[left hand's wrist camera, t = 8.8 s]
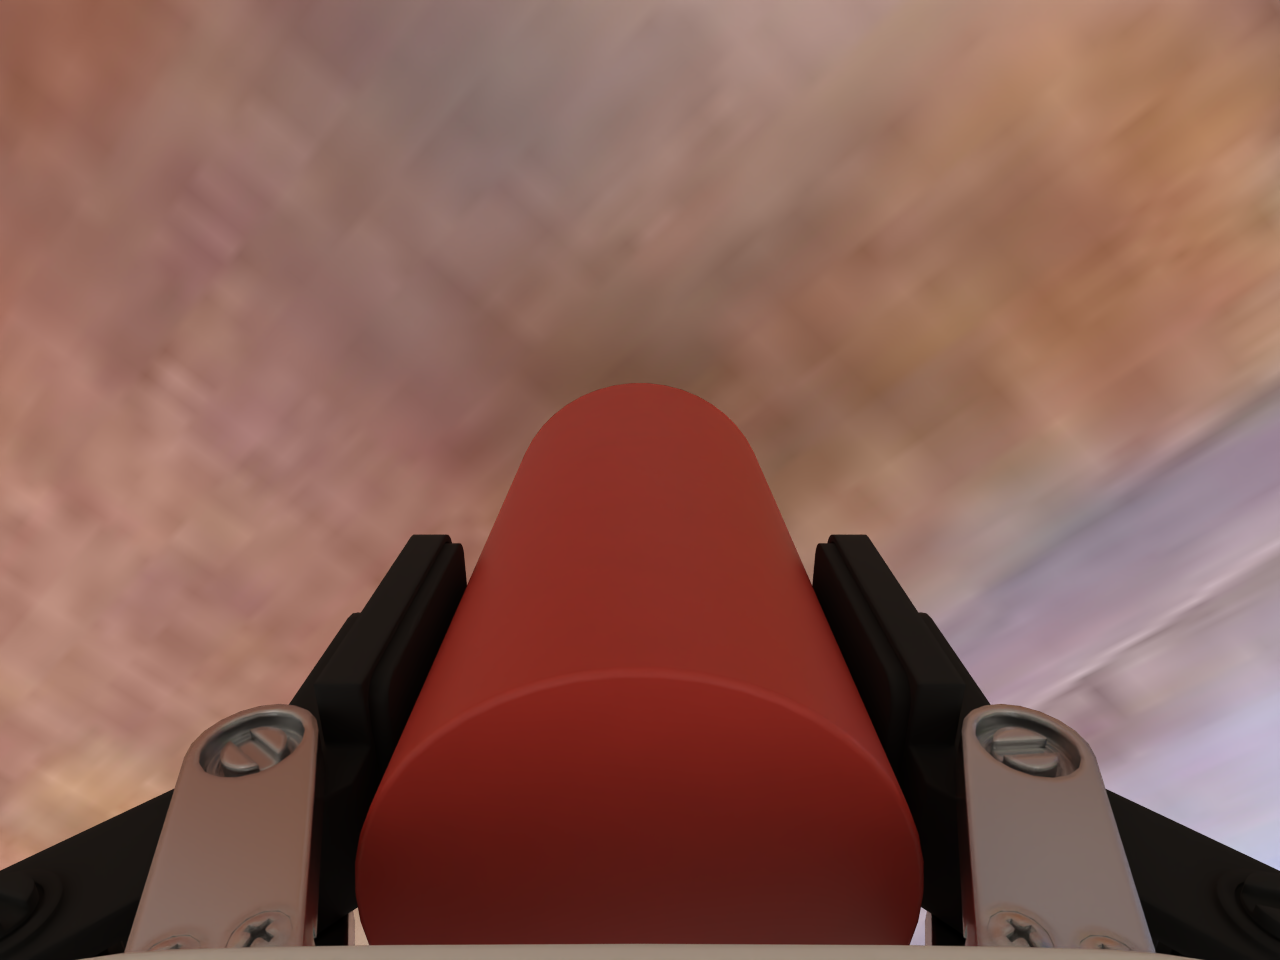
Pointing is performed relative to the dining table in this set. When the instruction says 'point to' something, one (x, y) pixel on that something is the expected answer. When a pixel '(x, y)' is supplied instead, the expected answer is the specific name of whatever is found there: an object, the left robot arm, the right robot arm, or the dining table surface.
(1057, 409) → the dining table surface
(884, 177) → the dining table surface
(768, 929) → the canister
